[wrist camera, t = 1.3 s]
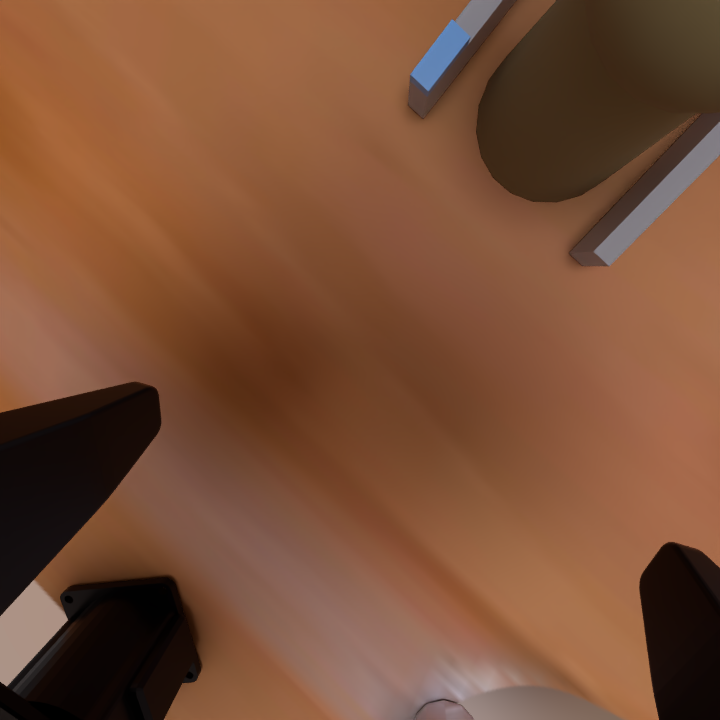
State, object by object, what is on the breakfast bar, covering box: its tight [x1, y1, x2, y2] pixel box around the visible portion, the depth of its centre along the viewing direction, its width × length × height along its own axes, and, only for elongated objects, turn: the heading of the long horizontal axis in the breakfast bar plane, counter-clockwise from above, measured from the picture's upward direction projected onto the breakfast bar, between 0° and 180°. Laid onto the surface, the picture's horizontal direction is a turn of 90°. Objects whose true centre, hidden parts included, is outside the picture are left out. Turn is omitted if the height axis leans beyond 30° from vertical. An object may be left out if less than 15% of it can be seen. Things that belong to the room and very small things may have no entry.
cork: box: [476, 0, 720, 202], centre depth 11 cm, size 6×6×11 cm
